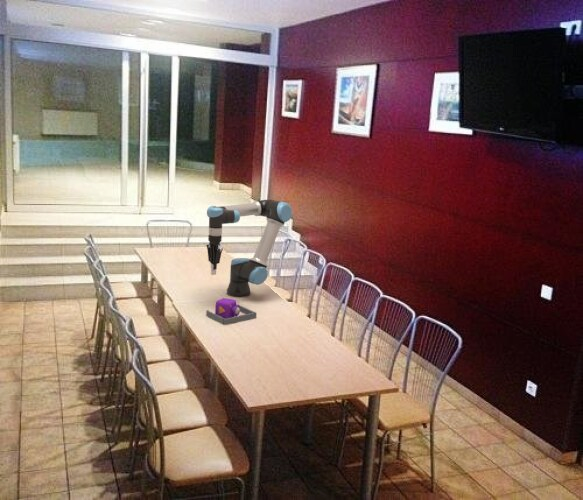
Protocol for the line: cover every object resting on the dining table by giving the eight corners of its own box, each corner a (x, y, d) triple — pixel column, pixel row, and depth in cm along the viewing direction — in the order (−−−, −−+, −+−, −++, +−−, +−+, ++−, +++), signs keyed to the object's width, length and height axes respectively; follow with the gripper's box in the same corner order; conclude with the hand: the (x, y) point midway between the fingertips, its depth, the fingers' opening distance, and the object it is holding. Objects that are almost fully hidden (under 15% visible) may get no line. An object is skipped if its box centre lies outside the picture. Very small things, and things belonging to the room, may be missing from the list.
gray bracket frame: (236, 309, 351) (237, 303, 350) (256, 317, 338) (256, 311, 337) (205, 315, 335) (205, 309, 335) (224, 324, 323) (224, 318, 322)
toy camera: (236, 321, 330) (237, 304, 328) (213, 317, 333) (214, 300, 331) (242, 315, 341) (243, 298, 338) (219, 312, 343) (220, 295, 341)
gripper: (203, 233, 342) (201, 272, 348) (216, 237, 333) (214, 277, 338) (213, 232, 347) (212, 270, 353) (227, 236, 338) (225, 276, 343)
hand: (213, 274), depth 346 cm, fingers closed
